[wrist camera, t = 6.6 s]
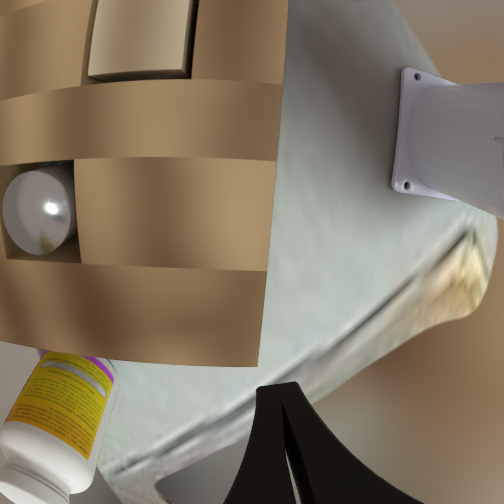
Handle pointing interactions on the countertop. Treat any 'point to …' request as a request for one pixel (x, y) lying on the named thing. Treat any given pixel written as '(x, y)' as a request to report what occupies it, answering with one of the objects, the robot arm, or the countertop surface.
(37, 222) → the peg steel
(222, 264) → the oak block
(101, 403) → the supplement bottle
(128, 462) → the countertop surface
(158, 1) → the peg maple
